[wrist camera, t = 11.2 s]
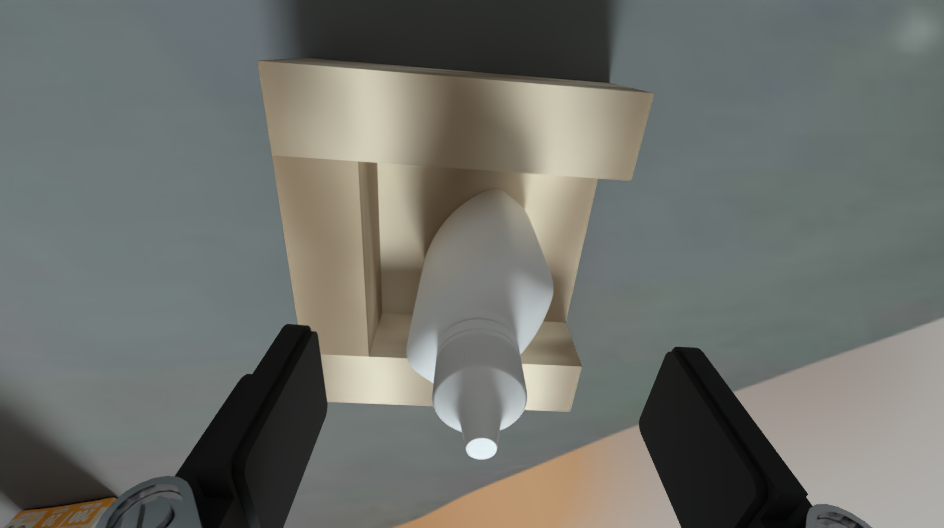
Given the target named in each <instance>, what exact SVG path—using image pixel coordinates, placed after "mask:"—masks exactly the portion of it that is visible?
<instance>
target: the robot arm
mask: <svg viewBox="0 0 944 528" xmlns="http://www.w3.org/2000/svg"><path fill="white" fill-rule="evenodd" d="M326 413H327V397H326V389H325V382H324V375H323V368H322V361H321V353H320V346H319V339H318V334H317V332H316V331H311V328H310V326H308V325H293V324H286V325H285V326H284V327H283V328H282V329H281V331H280V333H279V334H278V336H277V337H276V339H275V340H274V342H273V343H272V345H271V346H270V348H269V349H268V351H267V353H266V354H265V356H264V357H263V359H262V360H261V362H260V363H259V365H258V366H257V368H256V370H255V371H254V373H253V374H246V375H245V376H243V377H242V378H241V379H240V381H239V382H238V383H237V385H236V386H235V388H234V389H233V391H232V392H231V394H230V395H229V397H228V398H227V400H226V401H225V403H224V404H223V406H222V407H221V408H220V410H219V411H218V413H217V414H216V416H215V417H214V419H213V420H212V422H211V423H210V425H209V426H208V428H207V429H206V431H205V432H204V434H203V435H202V437H201V438H200V440H199V441H198V443H197V444H196V445H195V447H194V448H193V450H192V451H191V453H190V454H189V456H188V457H187V459H186V460H185V462H184V463H183V465H182V466H181V468H180V469H179V471H178V472H177V474H176V475H175V477H173V476H164V477H157V478H153V479H150V480H148V481H145V482H142V483H140V484H138V485H136V486H135V487H133V488H131V489H129V490H128V491H126V492H125V493H123V494H122V495H121V496H120V497H119V498H117V499H116V500H115V501H114V502H112V504H111V505H110V506H109V507H108V508H107V509H106V511H105V512H104V513H103V514H102V515H101V517H100V519H99V521H98V523H97V525H96V527H95V528H283V527H284V524H285V521H286V519H287V516H288V513H289V511H290V508H291V506H292V503H293V500H294V498H295V495H296V493H297V490H298V487H299V485H300V482H301V480H302V477H303V474H304V472H305V469H306V466H307V464H308V461H309V459H310V456H311V453H312V451H313V448H314V446H315V443H316V440H317V438H318V435H319V433H320V430H321V427H322V425H323V422H324V419H325V417H326ZM639 428H640V432H641V435H642V437H643V439H644V441H645V444H646V446H647V448H648V451H649V453H650V456H651V458H652V460H653V463H654V465H655V467H656V470H657V472H658V474H659V477H660V479H661V481H662V484H663V486H664V488H665V491H666V493H667V495H668V497H669V500H670V502H671V504H672V506H673V509H674V511H675V514H676V516H677V518H678V521H679V523H680V525H681V528H872V527H871V526H869V525H868V524H867V523H866V522H865V521H863V520H861V519H860V518H858V517H857V516H855V515H854V514H852V513H850V512H848V511H846V510H844V509H841V508H839V507H836V506H832V505H828V504H817V505H814V506H812V505H811V504H810V502H809V501H808V499H807V498H806V496H807V495H808V494H807V492H806V491H805V489H804V488H803V487H802V486H801V484H800V483H799V481H798V480H797V479H796V477H795V476H794V475H793V473H792V472H791V471H790V469H789V468H788V466H787V465H786V464H785V462H784V461H783V460H782V458H781V457H780V456H779V454H778V453H777V452H776V450H775V449H774V448H773V446H772V445H771V443H770V442H769V441H768V439H767V438H766V437H765V435H764V434H763V433H762V431H761V430H760V429H759V427H758V426H757V425H756V423H755V422H754V421H753V420H752V418H751V417H750V415H749V414H748V412H747V411H746V410H745V408H744V407H743V406H742V404H741V403H740V402H739V400H738V399H737V398H736V396H735V395H734V393H733V392H732V391H731V389H730V388H729V387H728V385H727V384H726V383H725V381H724V380H723V379H722V377H721V376H720V375H719V373H718V372H717V370H716V369H715V368H714V366H713V365H712V364H711V362H710V361H709V360H708V358H707V357H706V356H705V354H704V353H703V352H702V351H701V350H700V349H698V348H690V347H675V348H674V349H673V350H672V351H671V352H668V353H667V354H666V355H665V358H664V360H663V363H662V365H661V368H660V370H659V372H658V375H657V377H656V380H655V382H654V385H653V387H652V390H651V392H650V395H649V397H648V400H647V402H646V405H645V407H644V410H643V412H642V414H641V417H640V420H639Z"/></svg>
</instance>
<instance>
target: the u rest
mask: <svg viewBox="0 0 944 528" xmlns="http://www.w3.org/2000/svg"><path fill="white" fill-rule="evenodd" d="M258 67H259V74H260V80H261V87H262V93H263V100H264V106H265V113H266V119H267V126H268V132H269V139H270V145H271V152H272V158H273V165H274V172H275V178H276V185H277V191H278V198H279V204H280V211H281V217H282V224H283V230H284V237H285V243H286V250H287V256H288V263H289V269H290V276H291V282H292V289H293V295H294V302H295V308H296V315H297V321H298V325H308V326H310V328H311V331H316V332H317V334H318V339H319V346H320V353H321V361H322V368H323V375H324V382H325V389H326V397H327V402H346V403H370V404H394V405H419V406H433V403H432V392H433V383H432V382H430V381H429V380H427V379H426V378H424V377H422V376H421V375H420V374H418V373H417V372H416V371H414V369H413V368H412V367H411V366H410V365H409V363H408V360H407V355H406V348H407V342H408V336H409V331H410V326H411V321H412V316H413V311H414V307H415V302H416V297H417V293H418V288H419V283H420V279H421V274H422V270H423V265H424V261H425V257H426V254H427V252H428V249H429V246H430V244H431V242H432V240H433V238H434V236H435V235H436V233H437V231H438V230H439V228H440V227H441V226H442V224H443V223H444V222H445V221H446V219H447V218H448V217H449V216H450V215H451V214H452V213H453V212H454V211H455V210H456V209H458V208H459V207H460V206H461V205H463V204H464V203H465V202H467V201H468V200H470V199H471V198H473V197H475V196H476V195H478V194H480V193H482V192H484V191H487V190H489V189H496V188H497V189H500V190H502V191H504V192H505V193H507V194H508V195H509V196H510V197H511V198H513V199H514V200H515V201H516V202H517V203H518V204H520V205H521V206H522V207H523V208H524V209H525V211H526V213H527V214H528V216H529V219H530V221H531V224H532V226H533V229H534V231H535V234H536V236H537V239H538V241H539V244H540V247H541V249H542V252H543V254H544V257H545V260H546V262H547V265H548V268H549V271H550V274H551V277H552V279H553V297H552V300H551V304H550V306H549V309H548V311H547V314H546V316H545V318H544V320H543V322H542V324H541V326H540V328H539V330H538V331H537V333H536V335H535V336H534V338H533V339H532V341H531V342H530V344H529V345H528V346H527V347H526V349H525V350H524V351H523V352H522V353H521V355H520V356H521V362H522V367H523V373H524V378H525V384H526V390H527V402H526V406H525V409H524V410H540V411H565V412H570V410H571V406H572V402H573V399H574V395H575V391H576V387H577V384H578V380H579V376H580V372H581V368H582V365H581V363H580V360H579V357H578V355H577V352H576V349H575V346H574V344H573V341H572V338H571V336H570V333H569V330H568V328H567V325H566V319H567V314H568V310H569V305H570V301H571V296H572V292H573V288H574V283H575V279H576V274H577V270H578V265H579V261H580V256H581V252H582V248H583V243H584V239H585V234H586V230H587V225H588V221H589V216H590V212H591V208H592V203H593V199H594V194H595V190H596V185H597V181H598V178H599V179H613V180H627V181H631V180H632V176H633V172H634V168H635V164H636V161H637V157H638V153H639V149H640V146H641V142H642V138H643V134H644V130H645V127H646V123H647V119H648V115H649V112H650V108H651V104H652V100H653V96H654V93H651V92H646V91H642V90H638V89H633V88H629V87H625V86H620V85H616V84H611V83H602V82H590V81H578V80H566V79H554V78H542V77H530V76H518V75H506V74H494V73H482V72H470V71H458V70H446V69H434V68H422V67H410V66H398V65H386V64H374V63H362V62H350V61H338V60H326V59H313V58H299V59H280V60H260V61H258Z"/></svg>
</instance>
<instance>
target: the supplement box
mask: <svg viewBox="0 0 944 528" xmlns="http://www.w3.org/2000/svg"><path fill="white" fill-rule="evenodd" d="M115 500H116V498H114V497H112V498H106V499H102V500H96V501H91V502H84V503H79V504H72V505H66V506H59V507H52V508H44V509H33V510H24V511H21V512H19V513H18V514H17V515H16V516H15V517H14V518H13V519H12V520H11V521H10V522H9V523H8V524H7V525H6V526H5V527H4V528H95V527H96V525H97V523H98V521H99V519H100V517H101V515H102V514H103V513H104V512H105V511H106V509H107V508H108V507H109V506H110V505H111V504H112V502H114V501H115Z"/></svg>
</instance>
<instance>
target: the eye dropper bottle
mask: <svg viewBox="0 0 944 528" xmlns="http://www.w3.org/2000/svg"><path fill="white" fill-rule="evenodd" d="M552 297H553V279H552V277H551V274H550V271H549V268H548V265H547V262H546V260H545V257H544V254H543V252H542V249H541V247H540V244H539V241H538V239H537V236H536V234H535V231H534V229H533V226H532V224H531V221H530V219H529V216H528V214H527V213H526V211H525V209H524V208H523V207H522V206H521V205H520V204H518V203H517V202H516V201H515V200H514V199H513V198H511V197H510V196H509V195H508V194H507V193H505V192H504V191H502V190H500V189H497V188H496V189H489V190H487V191H484V192H482V193H480V194H478V195H476V196H475V197H473V198H471V199H470V200H468V201H467V202H465V203H464V204H463V205H461V206H460V207H459V208H458V209H456V210H455V211H454V212H453V213H452V214H451V215H450V216H449V217H448V218H447V219H446V221H445V222H444V223H443V224H442V226H441V227H440V228H439V230H438V231H437V233H436V235H435V236H434V238H433V240H432V242H431V244H430V246H429V249H428V252H427V254H426V257H425V261H424V265H423V270H422V274H421V279H420V283H419V288H418V293H417V297H416V302H415V307H414V311H413V316H412V321H411V326H410V331H409V336H408V342H407V348H406V355H407V360H408V363H409V365H410V366H411V367H412V368H413V369H414V371H416V372H417V373H418V374H420V375H421V376H422V377H424V378H426V379H427V380H429V381H430V382H432V383H433V392H432V403H433V406H434V410H435V411H436V413H437V414H438V416H439V417H440V418H441V420H442V421H444V423H446V424H447V425H449V426H450V427H452V428H454V429H456V430H458V431H461V432H462V434H463V439H464V443H465V448H466V452H467V454H468V455H469V456H470V457H472V458H475V459H481V460H482V459H488V458H490V457H492V456H493V455H495V453H496V452H497V447H498V440H499V433H500V430H502V429H505V428H506V427H508V426H510V425H511V424H513V423H514V422H515V421H516V420H517V419H518V418H519V417H520V416H521V414H522V413H523V411H524V409H525V406H526V402H527V390H526V384H525V378H524V373H523V367H522V362H521V356H520V355H521V353H522V352H523V351H524V350H525V349H526V347H527V346H528V345H529V344H530V342H531V341H532V339H533V338H534V336H535V335H536V333H537V331H538V330H539V328H540V326H541V324H542V322H543V320H544V318H545V316H546V314H547V311H548V309H549V306H550V304H551V300H552Z"/></svg>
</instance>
